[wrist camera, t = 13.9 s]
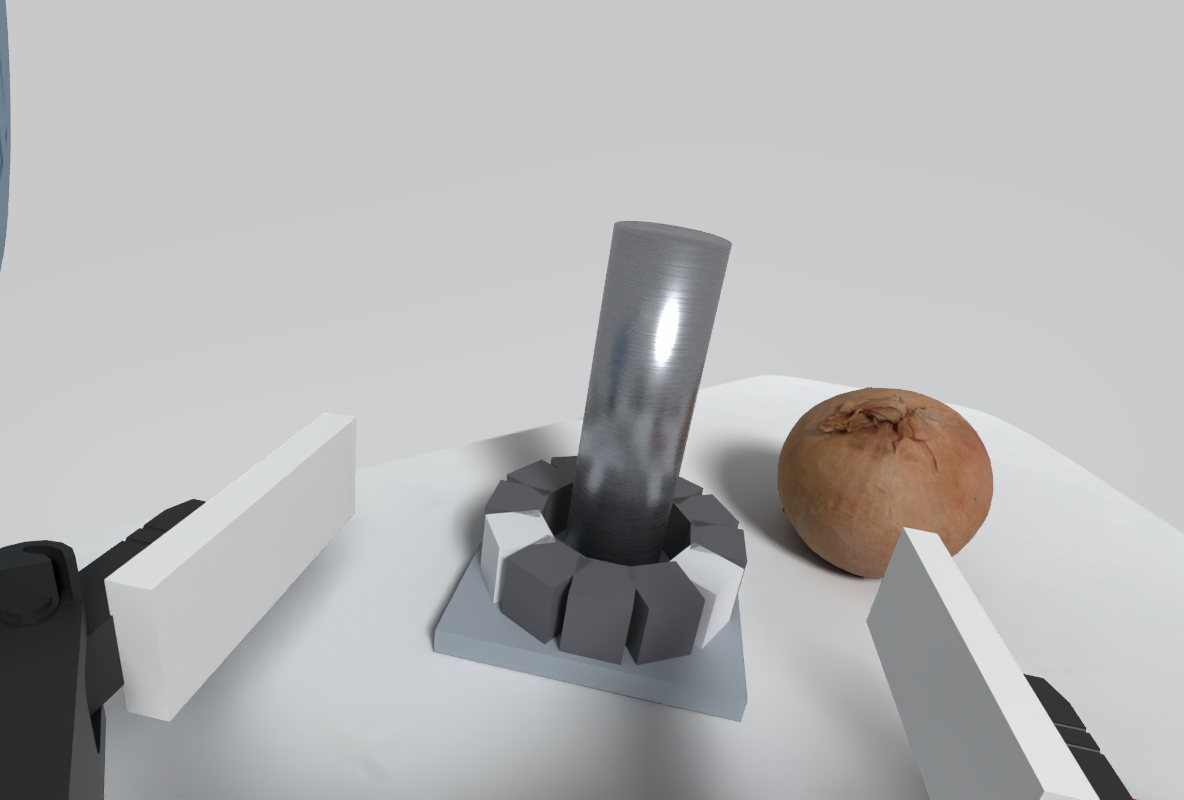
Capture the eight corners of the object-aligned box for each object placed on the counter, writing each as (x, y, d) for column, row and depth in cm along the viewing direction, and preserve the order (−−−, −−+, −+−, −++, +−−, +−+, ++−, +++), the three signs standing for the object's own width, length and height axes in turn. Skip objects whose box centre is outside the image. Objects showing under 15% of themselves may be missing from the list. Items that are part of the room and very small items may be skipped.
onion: (813, 637, 32) (816, 504, 26) (758, 491, 39) (750, 359, 33) (1013, 599, 31) (1068, 453, 25) (920, 458, 39) (944, 317, 32)
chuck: (433, 651, 24) (439, 572, 22) (512, 496, 34) (519, 435, 32) (740, 721, 23) (765, 643, 22) (727, 541, 33) (743, 480, 32)
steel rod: (552, 588, 26) (607, 231, 21) (570, 532, 30) (620, 216, 24) (651, 610, 26) (734, 253, 20) (657, 551, 30) (728, 235, 24)
